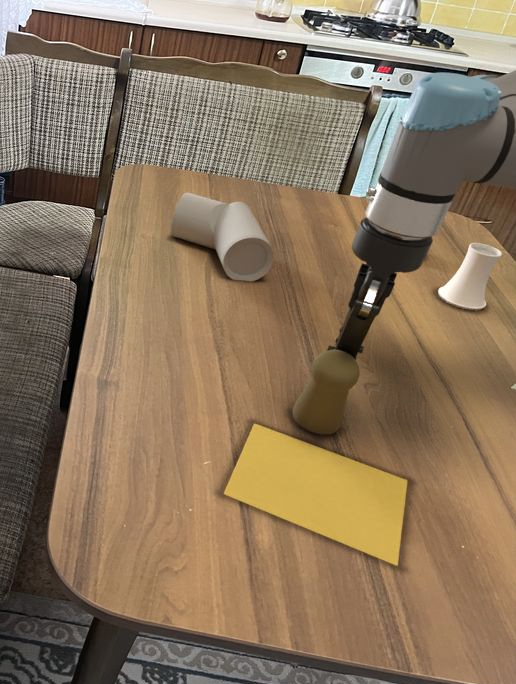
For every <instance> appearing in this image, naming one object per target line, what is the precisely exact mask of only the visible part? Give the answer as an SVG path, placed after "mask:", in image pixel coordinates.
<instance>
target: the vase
mask: <svg viewBox="0 0 516 684" xmlns="http://www.w3.org/2000/svg"><path fill="white" fill-rule="evenodd" d="M502 255H503V253H502V251H501V250H499V249H498V248H496V247H494V246H491V245H488V244H485V243H480V242H472V243H470V244H469V246H468V249H467V252H466V255H465V257H464V259H463V261H462V264H461V266H460V267H459V268H458V270H457V271H456V272H455V274H454V275H453V276H452V278H450V280H449V281H447V282H446V284H444V286H441V287H439V288H438V290H437V293H438V294H437V295H438V298H439V299H441V300H442V301H443V302H445V303H446V304H449V305H451V306H452V307H454V308H459V309H461V310H466V311H469V312H470V311H472V312H473V311H474V312H477V311H481V310H482V309H484V308H486V306H487V302H486V300H485V298H486V297H485V296H486V288H487V284H488V280H489V278H490V276H491V273H492V270H493V269H494V267H495V265H496V263H497V262H498V260H499V259H500V258H501V256H502Z"/></svg>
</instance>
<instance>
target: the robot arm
mask: <svg viewBox="0 0 516 684" xmlns="http://www.w3.org/2000/svg"><path fill="white" fill-rule="evenodd" d="M462 182H467V183H470V184H471V183H473V184H478V185H487V186H492V187H498V188H505V189H511V190H516V69H515V70H512V71H510V72H508V73H505V74H503V75H500V76H497V75H489V74H477V75H473V76H469V75H465V74H460V73H454V72H431V73H429V74H426V75H424V76H422V78H421V79H420V80H419V81H418V82H417V84H416V85H415V87H414V90H413V91H412V93H411V95H410V97H409V99H408V101H407V104H406V106H405V108H404V110H403V112H402V114H401V115H400V117H399V121H398V126H397V129H396V130H395V134H394V137H393V139H392V141H391V145H390V147H389V150H388V153H387V156H386V158H385V161H384V164H383V166H382V169H381V171H380V173H379V176H378V178H377V182H376V183H375V187H372V186H370V187H368V188H367V189H366V191H365V194H366V196H367V197H371V198H370V199H369V201H368V204H367V207H366V209H365V212H364V214H365V216H366V217H363V218H362V219H361V220H360V223H359V225H358V228H357V229H356V233H355V235H354V238H353V241H352V243H351V250H352V252H353V254H354V255H355V256H356V258H358V260H360V261H361V262H364V263H361V265H360V266H359V268H358V272H357V275H356V278H355V281H354V284H353V290H352V293H351V296H350V299H349V301H348V308H349V309H348V311H347V313H346V316H345V319H344V321H343V323H342V326H341V327H340V328H339V333H338V334H339V335H338V337H337V338H336V339H335V345H334V346H333V345H328V346H327V347H326V351H328V350H341V351H344V352H346V353H348V354H350V355H351V356H352V357H353V358H354V359H355V360H356V361H357V356H358V354H361V355H362V354H363V351H364V349H365V347H364V346H363V343H364V341H365V339H366V338H367V335H368V333H369V330H370V328H371V327H372V324H373V322H374V320H375V319H376V317H377V316H378V315H380V312H381V310H382V308H383V306H384V304H385V302H386V300H387V298H389V297H390V296H391V294H392V292H393V290H394V288H395V285H396V282H395V281H396V278H397V275H398V273H402V274H406V273H407V274H408V273H413V272H415V271H417V270H419V269H420V268H421V267H422V265H423V264H424V261H425V259H426V257H427V255H428V252H429V251H430V248H431V246H432V244H433V242H434V240H433V236H436V235H437V234H438V232H439V231H440V229H441V226H442V224H443V223H444V220H445V218H446V216H447V214H448V212H449V210H450V207H451V205H452V203H453V201H454V198H455V196H456V193H457V191H458V190H459V187H460V186H461V184H462Z"/></svg>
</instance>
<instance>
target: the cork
mask: <svg viewBox="0 0 516 684" xmlns="http://www.w3.org/2000/svg"><path fill="white" fill-rule="evenodd" d="M310 370H311V377H310V379H309V381H308V382H307V383H306V385H305V387H304V389H303V390H302V392H301V393H300V395H299V397H298V398H297V399H296V401H295V402H294V405H293V407H292V418H293V420H294V422H296V424H298V425H299V426H300V427H302V428H303V429H305V430H306V431H309V432H311V433H315V434H317V435H318V434H319V435H332V434H335V433H337V431H339V429H340V428H341V426H342V423H343V419H344V415H345V410H346V405H347V400H348V395H349V391H350V390H351V389H352V388H353V387H354V386H355V385H356V384H357V382H358V380H359V377H360V365H359V363H358V362H357V359H356V360H355V359H354V358H353V357H352V356H351V355H350V354H348V353H346V352H344V351H341V350H328V351H327V350H325V351H323V352H320V353H319V354H318V355H317V356H315V358H314V360H313V361H312V364H311V369H310Z"/></svg>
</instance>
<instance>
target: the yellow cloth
mask: <svg viewBox="0 0 516 684" xmlns="http://www.w3.org/2000/svg"><path fill="white" fill-rule="evenodd" d="M238 457H239V458H238V460H237V462H236V465H235V467H234V469H233V471H232V473H231V476H230V478H229V480H228V483H227V485H226V487H225V489H224V492H223V495H224V496H227V497H229V498H231V499H232V498H233V499H234V500H237V501H239V502H241V503H244V504H246V505H248V506H251V507H253V508H256V509H258V510H261V511H263V512H266V513H268V514H270V515H273V516H275V517H277V518H280V519H282V520H285V521H287V522H289V523H292V524H294V525H296V526H299V527H301V528H304V529H307V530H309V531H311V532H314V533H316V534H318V535H321V536H323V537H326V538H327V539H330V540H333V541H336V542H337V543H341V544H343V545H344V546H348V547H349V548H352V549H354V550H357V551H360V552H362V553H364V554H367V555H369V556H372V557H374V558H376V559H379V560H381V561H384V562H386V563H389V564H390V565H392V566H393V565H394V566H395V567H398V566H399V558H400V550H401V539H402V531H403V523H404V515H405V506H406V498H407V497H406V496H407V489H408V488H407V487H408V479H406V478H402V477H400V476H397V475H395V474H392V473H389V472H387V471H383V470H381V469H379V468H375V467H373V466H370V465H367V464H366V463H362V462H359V461H357V460H354V459H352V458H349V457H346V456H343V455H340V454H338V453H335V452H333V451H330V450H327V449H324V448H322V447H319V446H317V445H314V444H311V443H308V442H305V441H303V440H300V439H298V438H295V437H292V436H289V435H287V434H284V433H282V432H278V431H277V430H273V429H271V428H269V427H265V426H263V425H261V424H257V423H255V422H254V423H253V426H252V428H251V430H250V432H249V434H248V437H247V439H246V441H245V444H244V446H243V448H242V451H241V453H240V455H239V456H238Z"/></svg>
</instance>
